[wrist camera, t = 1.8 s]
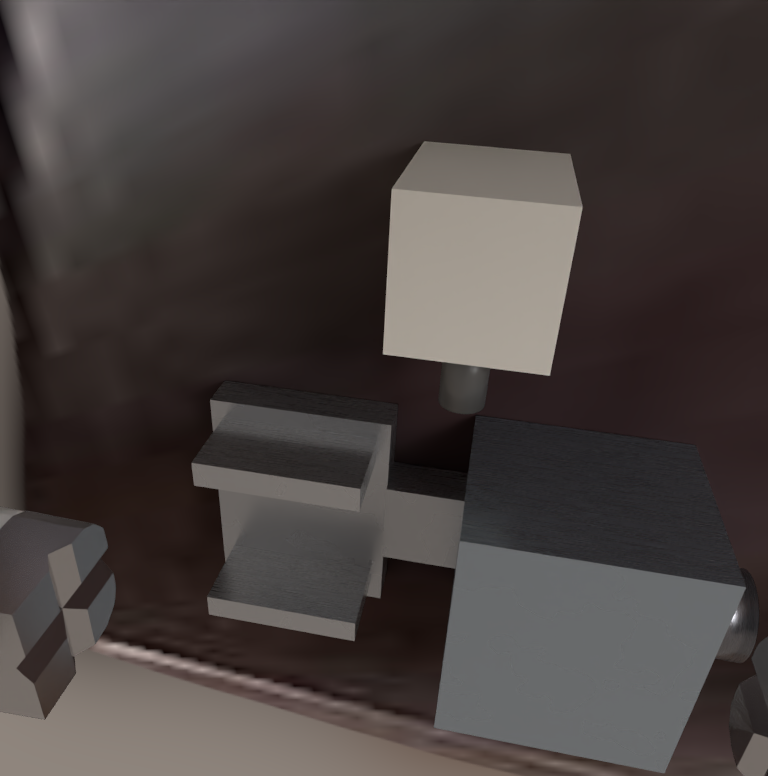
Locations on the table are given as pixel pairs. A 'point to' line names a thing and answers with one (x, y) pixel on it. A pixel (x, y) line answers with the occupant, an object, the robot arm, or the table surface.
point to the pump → (479, 263)
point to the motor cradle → (491, 562)
